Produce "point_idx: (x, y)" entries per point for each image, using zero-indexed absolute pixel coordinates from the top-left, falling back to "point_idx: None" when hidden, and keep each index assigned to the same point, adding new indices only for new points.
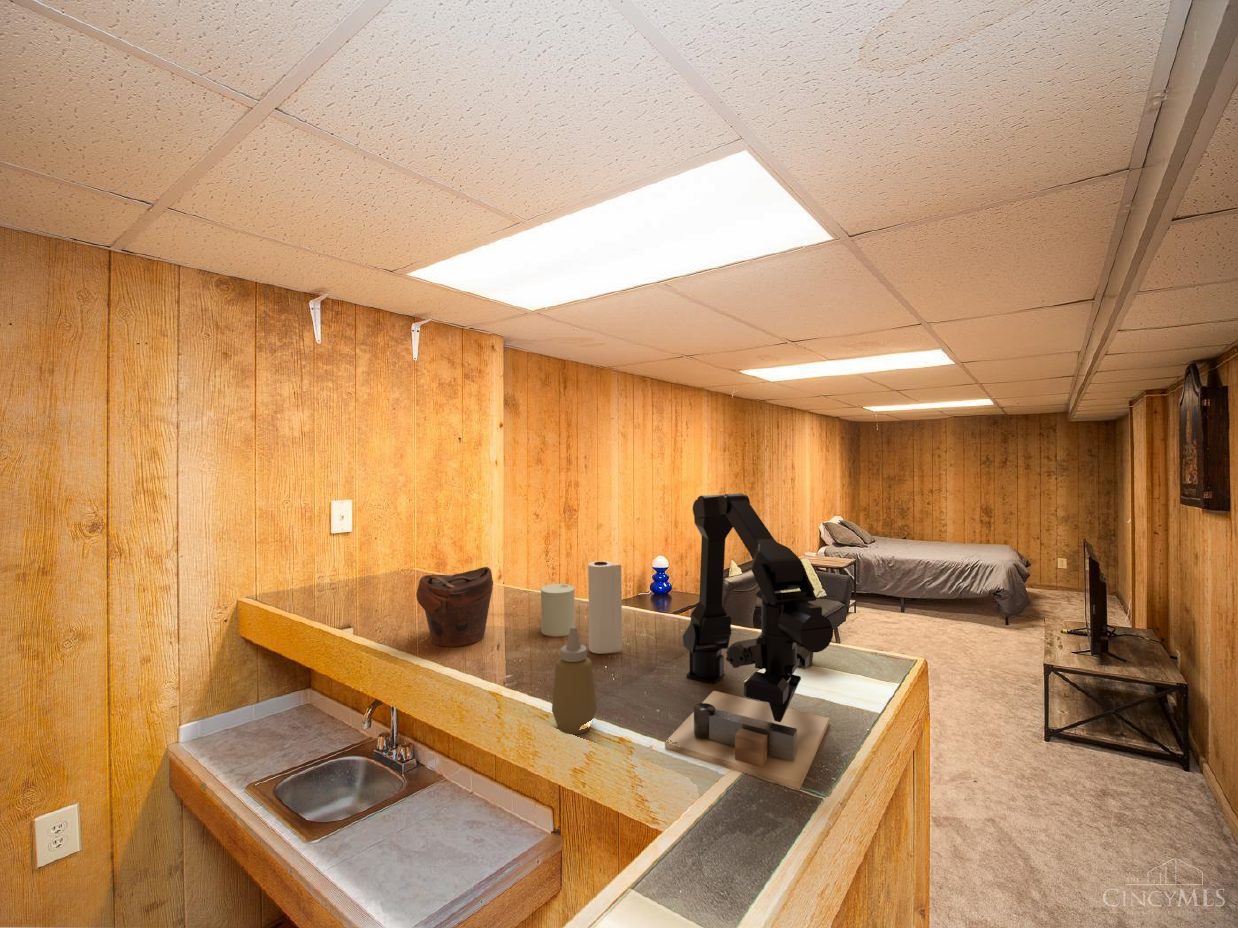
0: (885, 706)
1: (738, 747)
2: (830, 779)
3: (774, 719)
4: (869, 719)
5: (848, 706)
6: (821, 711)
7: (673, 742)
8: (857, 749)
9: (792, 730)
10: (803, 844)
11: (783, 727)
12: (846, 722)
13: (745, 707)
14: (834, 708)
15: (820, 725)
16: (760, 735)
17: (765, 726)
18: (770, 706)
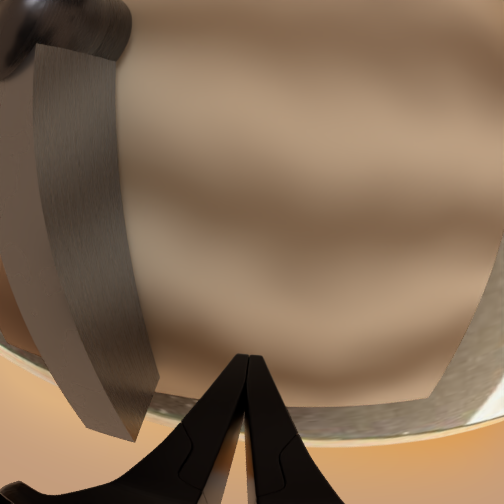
0: (485, 421)
1: None
2: (155, 407)
3: (234, 358)
4: (444, 424)
5: (495, 386)
6: (482, 355)
7: None
8: (312, 438)
9: (113, 431)
10: (2, 352)
11: (106, 414)
12: (432, 405)
13: (461, 130)
14: (491, 371)
15: (384, 395)
16: (24, 335)
17: (56, 362)
18: (192, 409)
